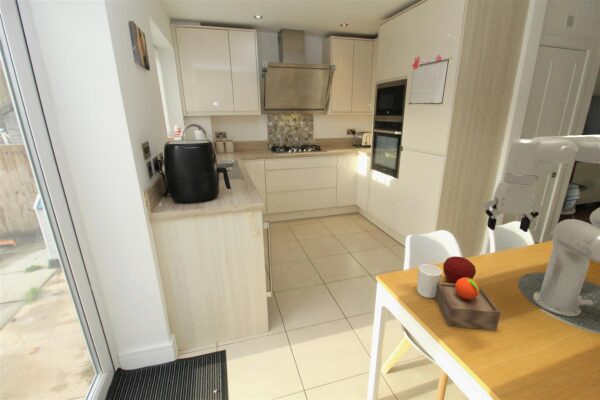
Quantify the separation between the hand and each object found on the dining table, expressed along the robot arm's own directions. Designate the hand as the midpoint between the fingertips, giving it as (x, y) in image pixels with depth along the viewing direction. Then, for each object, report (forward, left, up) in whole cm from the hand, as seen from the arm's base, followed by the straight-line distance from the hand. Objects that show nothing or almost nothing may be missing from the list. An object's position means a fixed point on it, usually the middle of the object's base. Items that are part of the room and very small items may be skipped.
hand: (506, 229), depth 92 cm
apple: (+8, -10, -28) cm, 31 cm away
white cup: (+21, -2, -28) cm, 36 cm away
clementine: (+12, +8, -22) cm, 27 cm away
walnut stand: (+12, +8, -28) cm, 32 cm away
